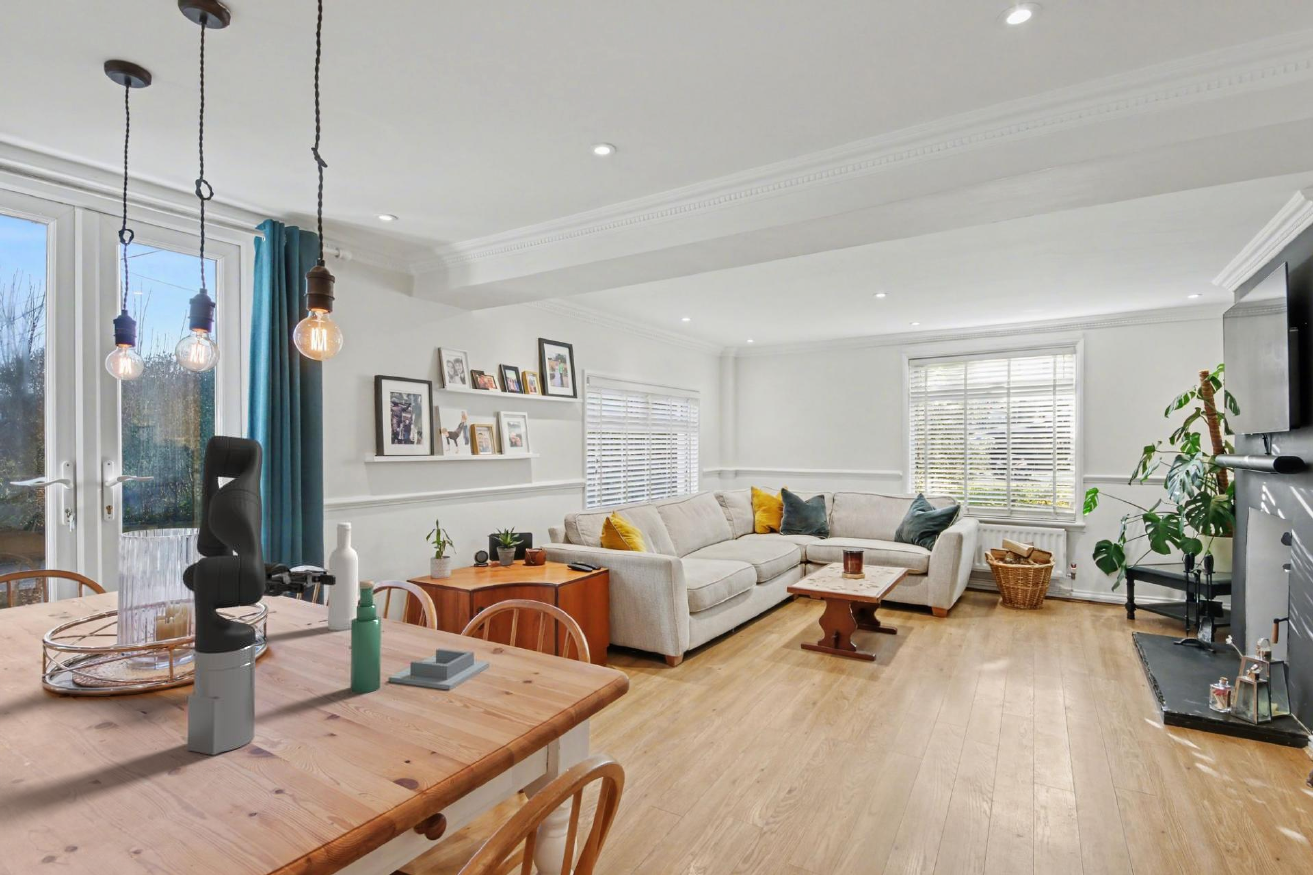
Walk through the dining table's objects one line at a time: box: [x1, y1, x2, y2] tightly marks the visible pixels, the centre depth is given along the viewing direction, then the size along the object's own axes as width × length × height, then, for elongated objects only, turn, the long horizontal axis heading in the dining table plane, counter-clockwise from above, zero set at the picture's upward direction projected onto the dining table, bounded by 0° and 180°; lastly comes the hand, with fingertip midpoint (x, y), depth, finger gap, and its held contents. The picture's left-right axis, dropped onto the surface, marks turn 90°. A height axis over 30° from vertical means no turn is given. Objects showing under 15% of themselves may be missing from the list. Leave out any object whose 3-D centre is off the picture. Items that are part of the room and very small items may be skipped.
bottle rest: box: [388, 648, 490, 691], centre depth 159 cm, size 16×16×4 cm
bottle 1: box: [327, 522, 359, 632], centre depth 197 cm, size 8×8×30 cm
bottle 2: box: [350, 580, 382, 694], centre depth 149 cm, size 6×6×23 cm
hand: (320, 584), depth 153 cm, fingers open, 8 cm apart
